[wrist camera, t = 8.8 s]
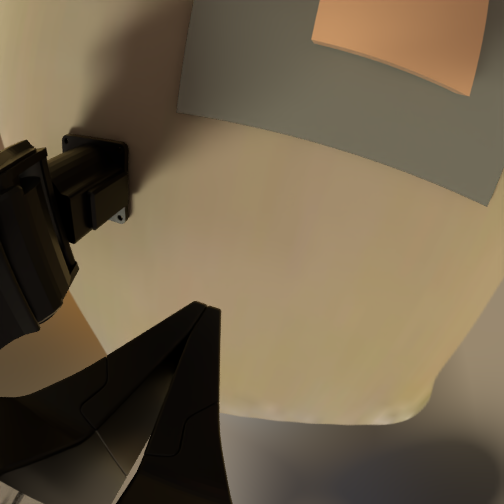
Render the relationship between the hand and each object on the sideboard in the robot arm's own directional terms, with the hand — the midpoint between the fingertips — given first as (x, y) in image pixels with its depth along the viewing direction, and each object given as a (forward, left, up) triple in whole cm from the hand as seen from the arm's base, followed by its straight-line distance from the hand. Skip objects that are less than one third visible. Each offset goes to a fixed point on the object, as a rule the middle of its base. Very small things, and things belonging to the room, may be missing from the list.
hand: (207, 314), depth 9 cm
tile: (0, +12, -10) cm, 16 cm away
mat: (+3, +12, -12) cm, 17 cm away
